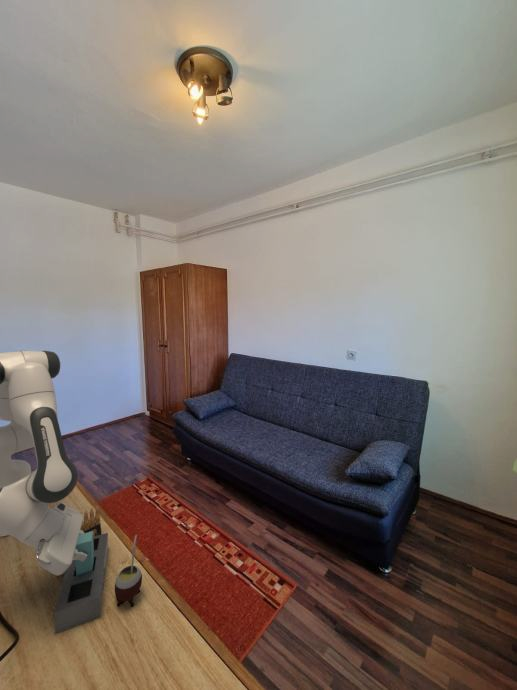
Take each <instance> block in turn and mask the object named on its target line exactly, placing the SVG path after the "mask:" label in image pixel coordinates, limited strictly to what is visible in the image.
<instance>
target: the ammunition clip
mask: <svg viewBox="0 0 517 690" xmlns="http://www.w3.org/2000/svg"><path fill="white" fill-rule="evenodd" d="M89 511H90V512H89V513H88V511H87V510H86V509H85V511H84V516H83V514H82V513H81V515H82V516H83V521H82V525H81V529H80V530H82V531H83V532H84V533H88V532H92V531H93V536H97V535H101V534H102V526H101V525H102V524H101V515H100V507H99V505H96V507H95V512H94V509H93V507H91V508H90V510H89Z"/></svg>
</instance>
